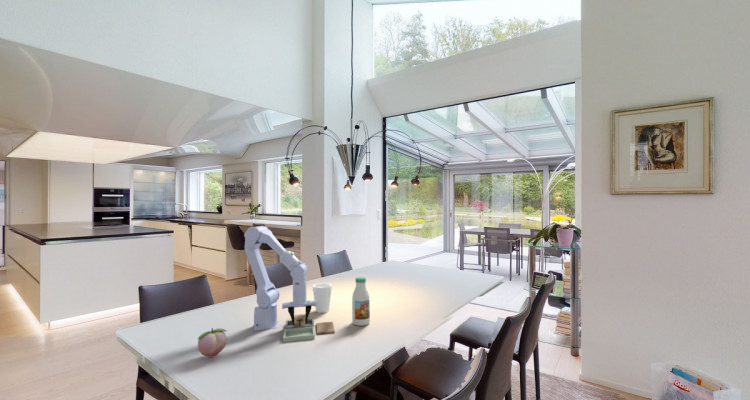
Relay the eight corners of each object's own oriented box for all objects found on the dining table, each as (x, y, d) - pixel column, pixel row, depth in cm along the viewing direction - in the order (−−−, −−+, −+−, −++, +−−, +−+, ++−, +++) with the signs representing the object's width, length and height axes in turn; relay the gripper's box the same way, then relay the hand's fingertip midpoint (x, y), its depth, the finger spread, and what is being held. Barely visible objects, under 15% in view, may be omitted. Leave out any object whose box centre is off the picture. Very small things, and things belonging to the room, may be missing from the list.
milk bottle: (349, 324, 139) (348, 278, 140) (358, 319, 146) (357, 275, 147) (364, 327, 136) (363, 280, 136) (372, 321, 143) (372, 276, 143)
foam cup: (334, 308, 161) (333, 283, 162) (329, 315, 152) (329, 287, 152) (315, 308, 162) (315, 283, 163) (310, 314, 153) (310, 287, 153)
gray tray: (284, 333, 131) (284, 328, 131) (286, 325, 140) (286, 320, 140) (314, 330, 133) (314, 325, 133) (313, 322, 142) (313, 318, 142)
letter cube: (294, 329, 134) (294, 318, 134) (294, 325, 138) (294, 314, 138) (305, 328, 135) (305, 317, 135) (305, 324, 139) (305, 314, 139)
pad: (317, 335, 128) (317, 332, 128) (316, 325, 138) (316, 323, 138) (334, 334, 129) (334, 331, 129) (332, 324, 140) (332, 321, 140)
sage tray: (283, 343, 121) (283, 337, 121) (284, 334, 130) (284, 329, 130) (314, 340, 124) (314, 334, 124) (314, 331, 132) (314, 326, 132)
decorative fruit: (220, 348, 117) (220, 321, 117) (230, 355, 112) (230, 326, 112) (192, 358, 110) (192, 329, 110) (202, 365, 105) (202, 335, 105)
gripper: (281, 295, 131) (281, 328, 131) (317, 293, 134) (317, 325, 134) (282, 291, 138) (282, 322, 138) (316, 289, 141) (316, 320, 141)
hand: (299, 324), depth 137 cm, fingers closed on letter cube, 4 cm apart
